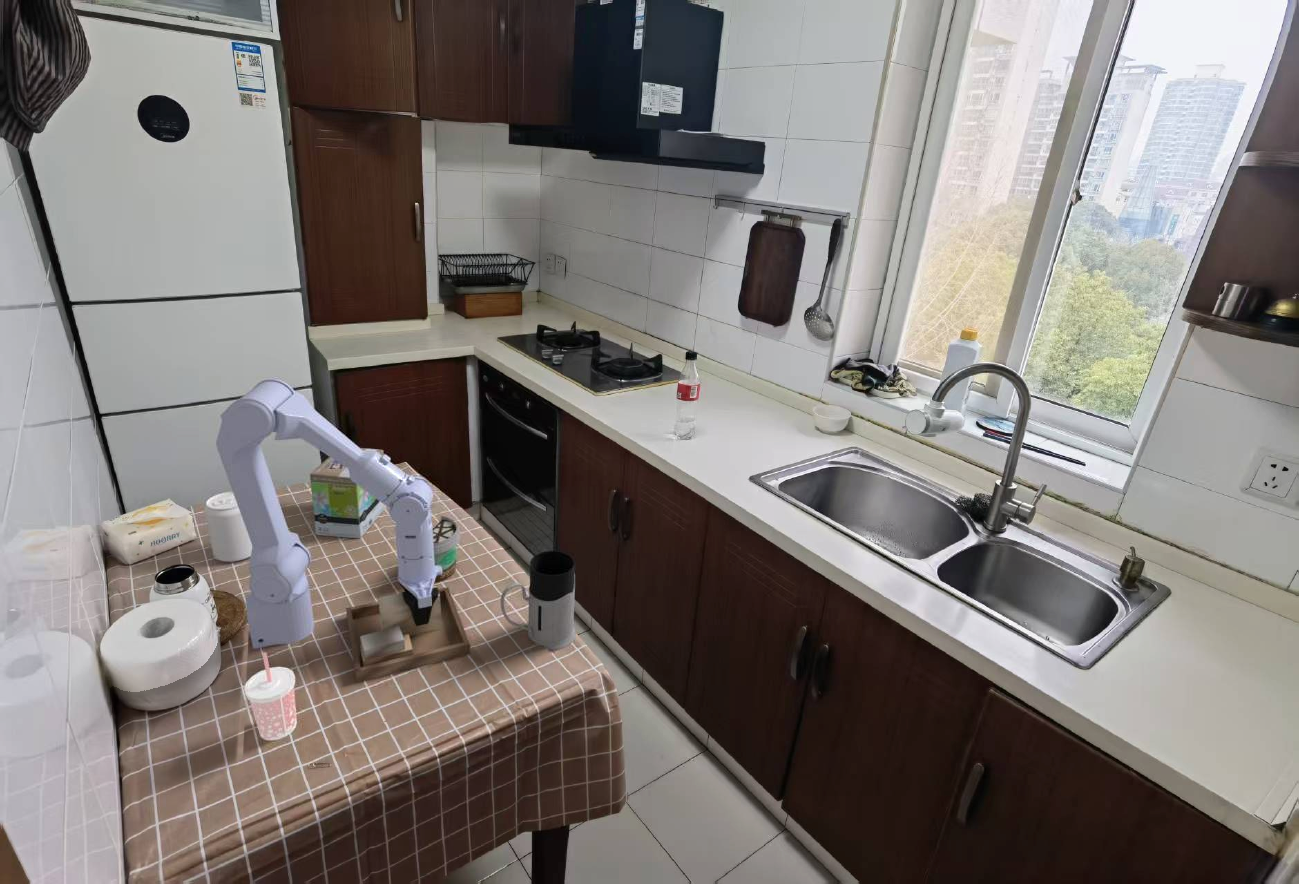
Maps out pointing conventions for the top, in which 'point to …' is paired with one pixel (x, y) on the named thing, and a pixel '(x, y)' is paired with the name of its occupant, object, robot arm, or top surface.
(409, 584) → the robot arm
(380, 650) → the offcut upper
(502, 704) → the top surface
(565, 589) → the grey mug
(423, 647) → the crate
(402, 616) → the cream chamfered post
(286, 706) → the beverage cup
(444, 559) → the food container
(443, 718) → the top surface
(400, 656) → the offcut lower
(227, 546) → the beverage can
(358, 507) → the tea box
